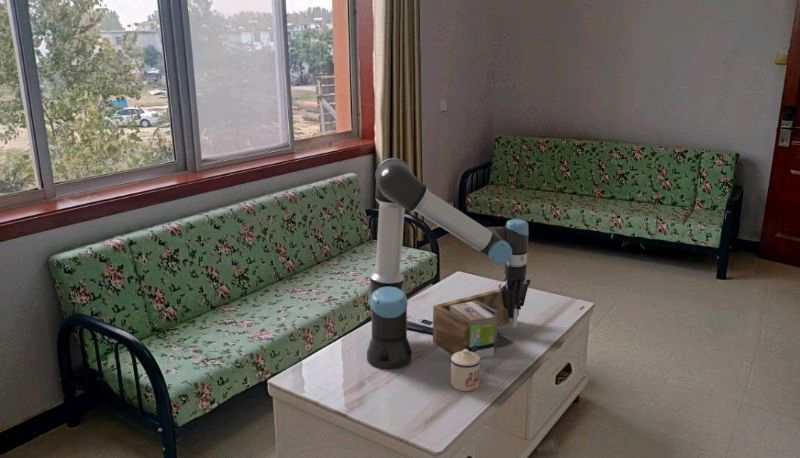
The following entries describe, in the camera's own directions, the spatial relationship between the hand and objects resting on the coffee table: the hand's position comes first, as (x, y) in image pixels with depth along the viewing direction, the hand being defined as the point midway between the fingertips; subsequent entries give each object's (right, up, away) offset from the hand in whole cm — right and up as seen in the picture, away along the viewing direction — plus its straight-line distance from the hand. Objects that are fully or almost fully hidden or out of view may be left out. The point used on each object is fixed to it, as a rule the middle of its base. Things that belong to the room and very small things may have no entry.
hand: (512, 325), depth 228 cm
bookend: (-8, -5, -4) cm, 10 cm away
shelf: (-9, -5, -3) cm, 11 cm away
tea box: (-16, -7, -10) cm, 20 cm away
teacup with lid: (-20, -13, -31) cm, 39 cm away
